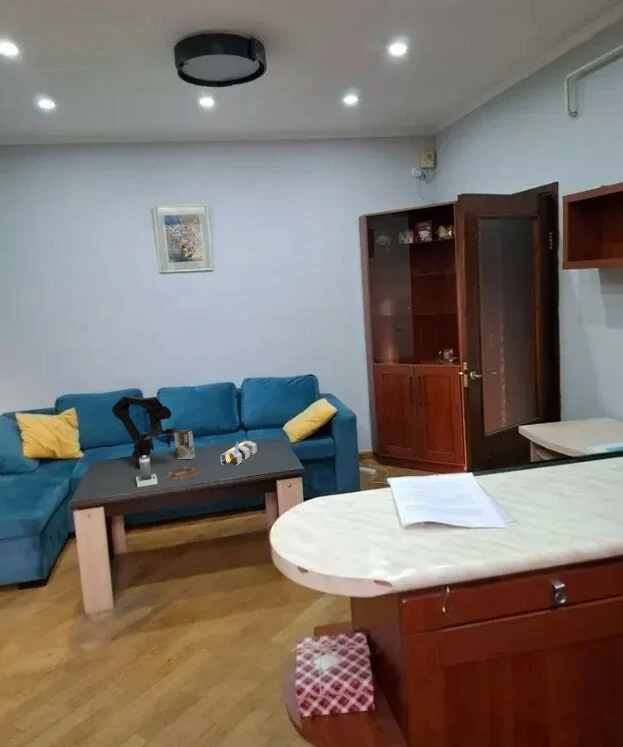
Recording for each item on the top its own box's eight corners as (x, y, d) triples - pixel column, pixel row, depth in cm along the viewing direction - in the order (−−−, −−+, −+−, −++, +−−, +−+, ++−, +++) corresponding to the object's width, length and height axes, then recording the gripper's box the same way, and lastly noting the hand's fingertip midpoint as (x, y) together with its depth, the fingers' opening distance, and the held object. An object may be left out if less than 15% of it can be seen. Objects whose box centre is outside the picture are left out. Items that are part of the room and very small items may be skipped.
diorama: (238, 467, 318) (236, 443, 316) (221, 466, 321) (219, 443, 319) (257, 454, 341) (255, 432, 339) (240, 453, 344) (239, 431, 343)
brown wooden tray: (164, 477, 307) (163, 472, 307) (183, 470, 317) (183, 465, 317) (180, 481, 299) (179, 476, 298) (200, 473, 309) (199, 469, 308)
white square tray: (136, 482, 301) (135, 476, 301) (155, 479, 304) (155, 473, 304) (137, 487, 292) (137, 482, 292) (157, 484, 295) (157, 478, 295)
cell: (139, 483, 298) (136, 456, 296) (148, 480, 302) (145, 453, 300) (145, 484, 295) (142, 457, 293) (154, 481, 298) (151, 455, 296)
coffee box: (195, 456, 343) (193, 429, 341) (190, 460, 337) (188, 432, 335) (181, 456, 345) (178, 429, 343) (176, 459, 339) (173, 432, 337)
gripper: (132, 426, 312) (139, 455, 313) (165, 419, 309) (172, 448, 310) (141, 423, 323) (147, 450, 324) (173, 416, 320) (179, 444, 321)
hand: (161, 448), depth 319 cm, fingers open, 9 cm apart
